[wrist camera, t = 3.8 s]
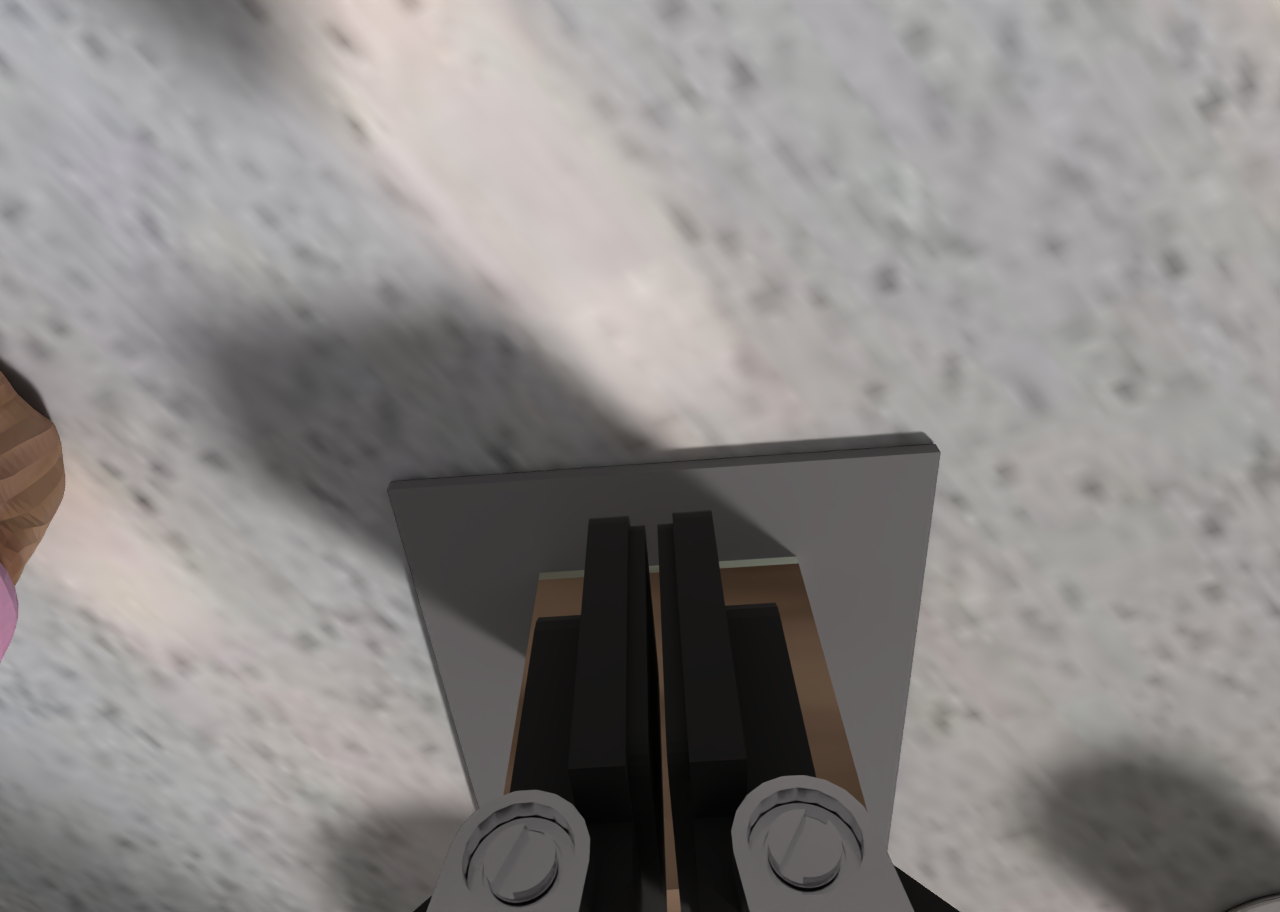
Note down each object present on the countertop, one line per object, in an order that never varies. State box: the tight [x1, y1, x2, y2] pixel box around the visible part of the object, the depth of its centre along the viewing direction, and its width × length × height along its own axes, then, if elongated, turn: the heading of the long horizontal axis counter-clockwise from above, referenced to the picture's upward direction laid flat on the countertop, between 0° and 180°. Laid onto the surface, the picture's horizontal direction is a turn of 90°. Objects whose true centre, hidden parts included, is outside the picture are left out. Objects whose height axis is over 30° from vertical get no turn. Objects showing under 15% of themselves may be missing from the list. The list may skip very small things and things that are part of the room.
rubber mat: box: [387, 444, 940, 850], centre depth 25 cm, size 18×14×1 cm
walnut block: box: [503, 556, 868, 912], centre depth 19 cm, size 4×7×9 cm, turn 94°
